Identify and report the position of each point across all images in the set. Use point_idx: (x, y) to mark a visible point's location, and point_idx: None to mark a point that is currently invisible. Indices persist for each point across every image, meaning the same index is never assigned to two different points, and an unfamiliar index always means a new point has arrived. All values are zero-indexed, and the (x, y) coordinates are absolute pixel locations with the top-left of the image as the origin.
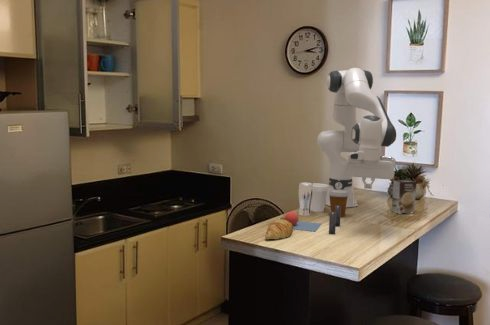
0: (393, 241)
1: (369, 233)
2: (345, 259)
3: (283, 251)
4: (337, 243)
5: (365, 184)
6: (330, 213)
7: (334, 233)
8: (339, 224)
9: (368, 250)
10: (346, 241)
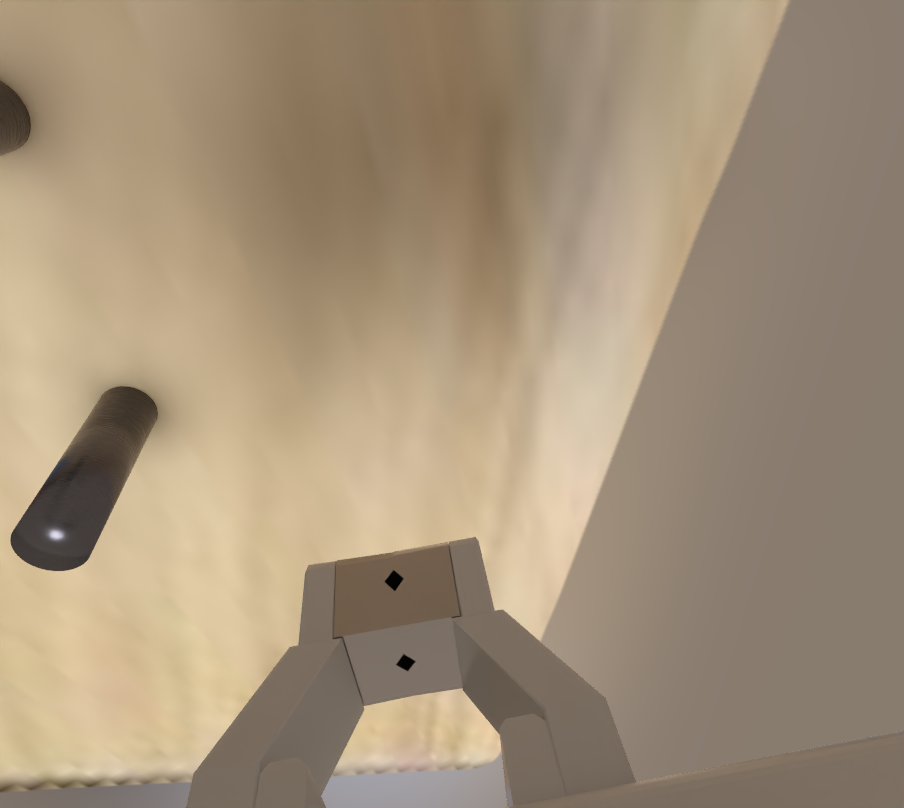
0: (628, 359)
1: (411, 232)
2: (424, 729)
3: (125, 784)
4: (290, 581)
5: (353, 705)
6: (45, 562)
7: (155, 418)
8: (18, 135)
9: (495, 593)
10: (323, 523)
